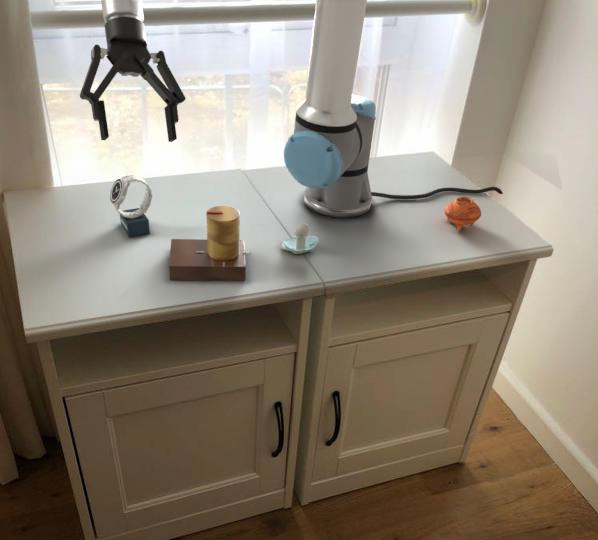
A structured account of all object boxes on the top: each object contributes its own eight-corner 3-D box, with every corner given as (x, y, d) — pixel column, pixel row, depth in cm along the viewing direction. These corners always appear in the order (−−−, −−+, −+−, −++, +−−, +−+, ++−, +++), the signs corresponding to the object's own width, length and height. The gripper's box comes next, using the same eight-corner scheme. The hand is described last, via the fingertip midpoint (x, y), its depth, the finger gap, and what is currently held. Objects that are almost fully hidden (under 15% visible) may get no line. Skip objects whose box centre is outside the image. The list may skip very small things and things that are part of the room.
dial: (239, 244, 128) (239, 204, 122) (239, 260, 123) (240, 220, 118) (207, 244, 127) (206, 203, 122) (207, 260, 123) (206, 219, 117)
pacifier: (275, 246, 135) (289, 259, 131) (275, 217, 131) (290, 230, 127) (306, 239, 138) (320, 252, 134) (307, 211, 133) (323, 223, 130)
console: (249, 253, 132) (249, 238, 130) (251, 281, 124) (251, 266, 122) (172, 252, 130) (171, 237, 128) (169, 280, 122) (168, 265, 120)
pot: (480, 236, 143) (481, 207, 138) (443, 238, 145) (442, 209, 140) (481, 218, 148) (481, 189, 144) (445, 220, 151) (444, 192, 146)
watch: (111, 226, 136) (104, 175, 128) (149, 220, 139) (144, 169, 131) (119, 239, 132) (112, 187, 125) (158, 232, 135) (153, 180, 128)
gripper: (179, 36, 135) (192, 145, 139) (52, 23, 123) (70, 142, 127) (192, 22, 129) (205, 136, 132) (60, 6, 117) (79, 132, 120)
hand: (139, 139), depth 130 cm, fingers open, 13 cm apart
